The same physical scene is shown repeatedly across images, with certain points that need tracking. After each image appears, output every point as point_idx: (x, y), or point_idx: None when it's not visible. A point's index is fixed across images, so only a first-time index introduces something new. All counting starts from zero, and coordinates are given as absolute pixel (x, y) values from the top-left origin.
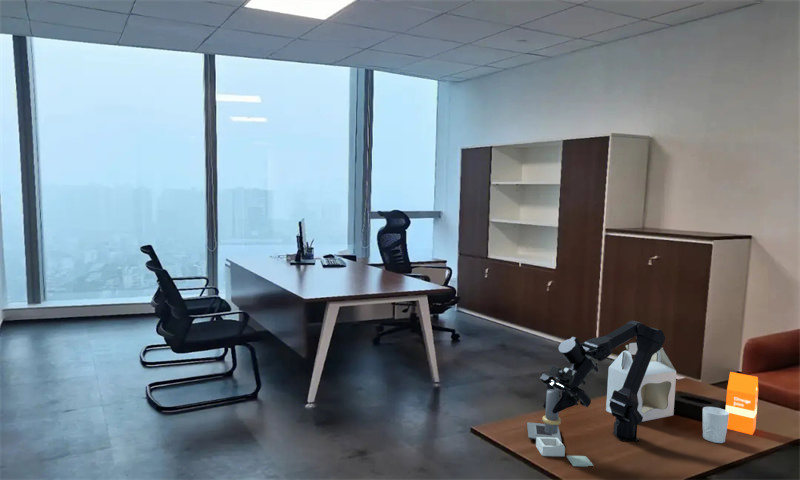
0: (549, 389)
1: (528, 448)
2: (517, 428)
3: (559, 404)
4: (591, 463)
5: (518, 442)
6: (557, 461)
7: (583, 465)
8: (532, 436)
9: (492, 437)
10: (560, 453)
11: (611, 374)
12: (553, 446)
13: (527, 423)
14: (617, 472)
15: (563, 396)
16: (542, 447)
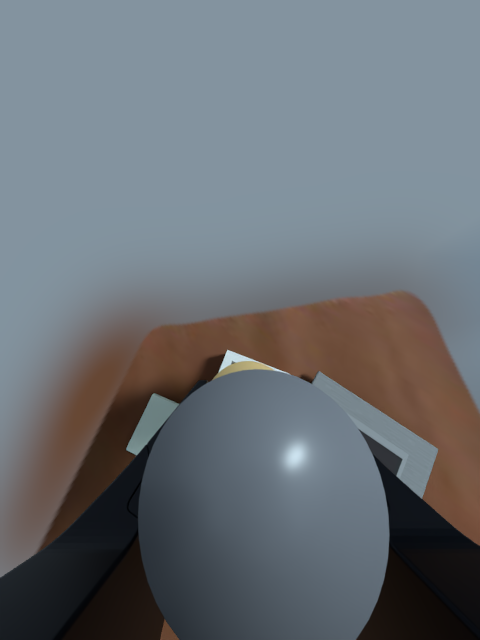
0: (378, 500)
1: (277, 346)
2: (409, 400)
3: (154, 436)
4: (134, 451)
5: (315, 343)
6: (192, 371)
7: (140, 420)
8: (320, 386)
9: (356, 298)
10: None
11: None
12: None
13: (425, 441)
14: (70, 496)
15: (76, 561)
16: (229, 351)
